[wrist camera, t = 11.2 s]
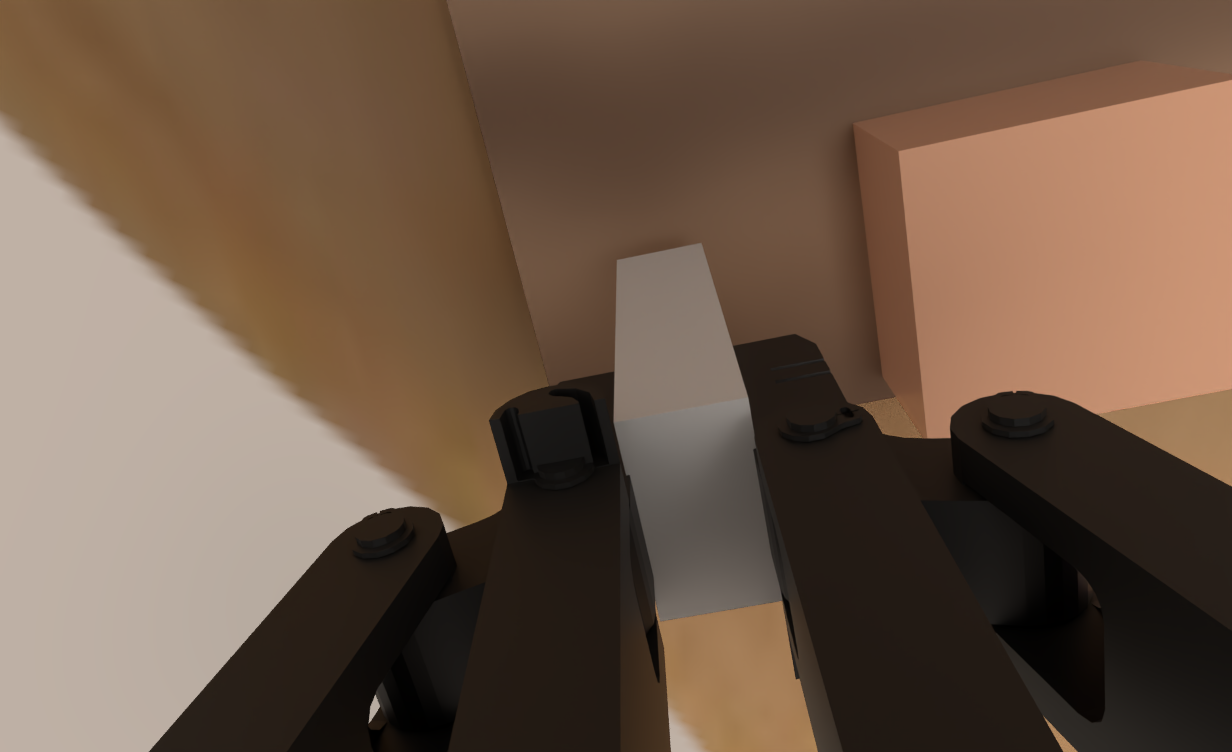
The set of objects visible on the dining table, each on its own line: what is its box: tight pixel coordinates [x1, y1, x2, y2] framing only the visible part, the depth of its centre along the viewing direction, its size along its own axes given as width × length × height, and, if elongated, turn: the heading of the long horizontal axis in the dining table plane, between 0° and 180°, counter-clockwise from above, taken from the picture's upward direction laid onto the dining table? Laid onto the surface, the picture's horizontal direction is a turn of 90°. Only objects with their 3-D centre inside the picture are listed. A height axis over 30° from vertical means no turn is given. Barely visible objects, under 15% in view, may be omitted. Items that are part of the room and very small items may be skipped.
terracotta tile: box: [853, 60, 1232, 438], centre depth 16 cm, size 5×5×3 cm
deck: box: [446, 0, 1232, 405], centre depth 17 cm, size 14×15×3 cm
